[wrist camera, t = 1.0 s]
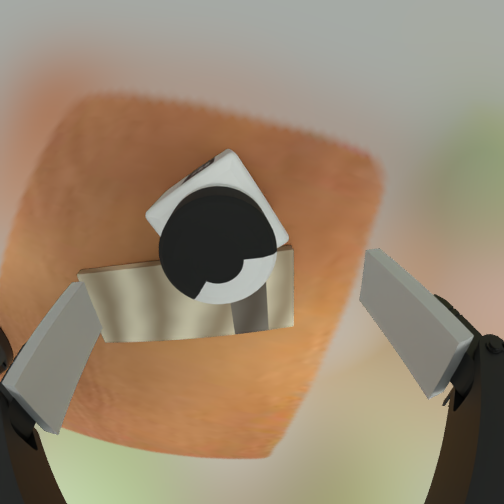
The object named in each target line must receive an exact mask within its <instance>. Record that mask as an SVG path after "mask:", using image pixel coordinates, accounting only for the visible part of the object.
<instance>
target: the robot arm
mask: <svg viewBox="0 0 504 504" xmlns="http://www.w3.org/2000/svg"><path fill="white" fill-rule="evenodd" d="M360 302H361V303H362V304H363V306H364V307H365V308H366V310H367V311H368V312H369V314H370V315H371V316H372V318H373V319H374V320H375V322H376V323H377V325H378V326H379V327H380V329H381V330H382V332H383V333H384V334H385V336H386V337H387V339H388V340H389V342H390V343H391V344H392V346H393V347H394V349H395V350H396V352H397V353H398V354H399V356H400V357H401V359H402V360H403V362H404V363H405V365H406V366H407V367H408V369H409V371H410V372H411V374H412V375H413V377H414V378H415V380H416V381H417V383H418V384H419V386H420V387H421V389H422V390H423V392H424V394H425V395H426V397H427V398H428V399H430V398H432V397H434V396H436V395H438V394H440V393H442V392H443V391H444V390H445V388H446V386H447V385H448V383H449V382H451V383H452V384H453V386H454V387H453V388H452V390H451V391H450V393H449V394H448V396H447V397H446V399H445V400H444V402H443V406H445V405H446V403H447V402H448V400H449V399H450V402H449V406H448V407H449V409H448V415H447V422H446V427H445V432H444V437H443V442H442V447H441V451H440V456H439V459H438V463H437V466H436V470H435V473H434V477H433V480H432V483H431V486H430V489H429V492H428V495H427V498H426V500H425V503H424V504H504V341H503V340H502V339H500V338H499V337H498V336H495V335H492V334H487V335H484V336H482V335H481V334H480V333H479V332H478V331H477V330H476V329H475V328H474V327H473V326H472V325H471V324H470V323H469V322H468V321H467V320H466V319H465V318H464V317H463V316H462V315H460V314H459V312H458V311H457V310H456V309H454V308H453V306H452V305H451V304H450V303H449V302H447V301H446V300H445V299H443V298H441V297H439V296H437V295H433V294H431V293H430V292H429V291H428V290H427V289H426V288H425V287H424V286H423V285H421V283H419V282H418V281H417V280H416V279H415V278H414V277H413V276H412V275H410V274H409V273H408V272H407V271H406V270H405V269H403V268H402V267H401V266H400V265H399V264H398V263H397V262H395V261H394V260H393V259H392V258H391V257H389V256H388V255H387V254H386V253H385V252H383V251H382V250H381V249H380V248H378V249H370V250H366V253H365V262H364V270H363V278H362V286H361V292H360ZM102 328H103V327H102V325H101V323H100V321H99V318H98V316H97V314H96V311H95V309H94V307H93V304H92V302H91V299H90V297H89V294H88V291H87V289H86V286H85V283H84V281H83V282H72V283H71V284H70V285H69V286H68V288H67V289H66V290H65V291H64V293H63V294H62V295H61V296H60V298H59V299H58V300H57V301H56V303H55V304H54V305H53V307H52V308H51V309H50V311H49V312H48V313H47V315H46V316H45V317H44V319H43V320H42V321H41V323H40V324H39V325H38V327H37V328H36V330H35V331H34V333H33V334H32V335H31V337H30V338H29V340H28V341H27V342H26V343H25V344H24V345H23V346H22V348H21V349H20V351H19V352H18V356H16V357H15V359H14V360H13V353H12V350H11V347H10V344H9V342H8V340H7V338H6V336H5V335H4V333H3V332H2V330H1V328H0V374H1V373H3V372H4V371H5V370H7V368H8V367H9V365H10V364H11V365H10V367H9V368H8V370H7V372H6V373H5V375H4V377H3V379H2V380H1V382H0V504H67V503H66V501H65V499H64V497H63V495H62V493H61V491H60V489H59V487H58V485H57V482H56V480H55V478H54V475H53V473H52V471H51V468H50V466H49V463H48V461H47V457H46V455H45V452H44V449H43V446H42V443H41V440H40V437H39V434H38V432H37V430H36V429H35V428H34V425H35V423H37V424H38V425H39V426H40V427H41V428H42V429H43V430H44V431H46V432H50V433H53V434H57V435H58V434H59V431H60V428H61V426H62V423H63V420H64V417H65V414H66V411H67V409H68V406H69V403H70V401H71V398H72V396H73V393H74V391H75V388H76V386H77V383H78V381H79V379H80V376H81V374H82V371H83V369H84V367H85V365H86V362H87V360H88V358H89V356H90V353H91V351H92V349H93V347H94V345H95V343H96V341H97V339H98V336H99V334H100V332H101V330H102ZM12 360H13V363H11V362H12Z"/></svg>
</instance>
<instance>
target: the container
mask: <svg viewBox="0 0 504 504" xmlns="http://www.w3.org/2000/svg"><path fill="white" fill-rule="evenodd" d="M145 217H146V219H147V220H148V222H149V223H150V224H151V225H152V227H153V228H154V229H155V231H156V232H157V233H158V234H159V236H160V241H159V258H160V263H161V266H162V269H163V271H164V273H165V275H166V277H167V278H168V280H169V281H170V282H171V284H172V285H173V286H174V287H175V288H176V289H177V290H179V291H180V292H181V293H183V294H184V295H186V296H187V297H189V298H191V299H194V300H196V301H199V302H203V303H208V304H227V303H233V302H236V301H239V300H242V299H244V298H246V297H248V296H250V295H252V294H253V293H254V292H256V291H257V290H258V289H259V288H260V287H261V286H263V284H264V283H265V282H266V281H267V279H268V278H269V276H270V275H271V273H272V271H273V268H274V266H275V262H276V257H277V248H278V247H280V246H282V245H283V244H285V243H286V242H287V241H288V240H289V236H288V234H287V232H286V231H285V229H284V227H283V226H282V224H281V223H280V221H279V219H278V218H277V216H276V214H275V213H274V211H273V210H272V208H271V206H270V205H269V203H268V202H267V200H266V199H265V197H264V195H263V194H262V192H261V191H260V189H259V188H258V186H257V185H256V183H255V181H254V180H253V178H252V177H251V175H250V174H249V172H248V171H247V169H246V168H245V166H244V165H243V163H242V161H241V160H240V158H239V157H238V155H237V154H236V153H235V152H233V151H232V150H231V149H226V150H225V151H223V152H221V153H220V154H218V155H217V156H215V157H214V158H212V159H211V160H209V161H208V162H206V163H205V164H203V165H202V166H200V167H199V168H198V169H196V170H195V171H193V172H192V173H190V174H189V175H188V176H186V177H185V178H183V179H182V180H181V181H179V182H178V183H176V184H175V185H174V186H172V187H171V188H170V189H168V190H167V191H166V192H165V193H164V194H163V195H162V196H161V197H160V198H159V199H158V200H157V201H156V202H155V203H154V204H153V205H152V206H151V207H150V209H149V210H148V211H147V212H146V216H145Z"/></svg>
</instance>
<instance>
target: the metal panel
mask: <svg viewBox="0 0 504 504" xmlns="http://www.w3.org/2000/svg"><path fill="white" fill-rule="evenodd" d="M77 277H78V279H79V282H83V281H84V283H85V286H86V289H87V291H88V294H89V297H90V299H91V302H92V304H93V307H94V309H95V311H96V314H97V316H98V318H99V321H100V323H101V325H102V327H103V328H102V330H101V334H102V336H103V339H104V341H105V342H145V341H165V340H180V339H193V338H204V337H215V336H224V335H233V334H242V333H250V332H257V331H265V330H272V329H278V328H285V327H291V326H294V249H293V248H292V246H291V245H287V246H280V247H278V248H277V257H276V262H275V266H274V268H273V271H272V273H271V275H270V276H269V278H268V279H267V281H266V282H265V283H264V284H263V286H261V287H260V288H259V289H258V290H257V291H256V292H254V293H253V294H252V295H250V296H248V297H246V298H244V299H242V300H239V301H236V302H233V303H227V304H208V303H203V302H199V301H196V300H194V299H191V298H189V297H187V296H186V295H184V294H183V293H181V292H180V291H179V290H177V289H176V288H175V287H174V286H173V285H172V284H171V282H170V281H169V280H168V278H167V277H166V275H165V273H164V271H163V269H162V266H161V263H160V260H159V261H150V262H142V263H133V264H125V265H117V266H108V267H100V268H92V269H83V270H80V272H79V273H78V274H77Z"/></svg>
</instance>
